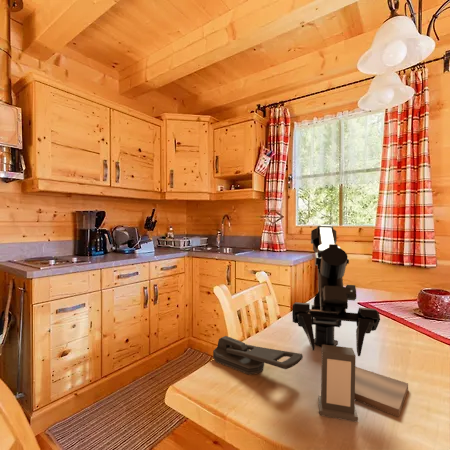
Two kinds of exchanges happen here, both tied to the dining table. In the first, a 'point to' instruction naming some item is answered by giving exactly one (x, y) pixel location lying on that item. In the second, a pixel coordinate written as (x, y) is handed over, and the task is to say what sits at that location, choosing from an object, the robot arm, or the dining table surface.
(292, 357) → the zipper pull
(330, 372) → the picture frame
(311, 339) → the robot arm
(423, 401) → the dining table surface
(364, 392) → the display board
